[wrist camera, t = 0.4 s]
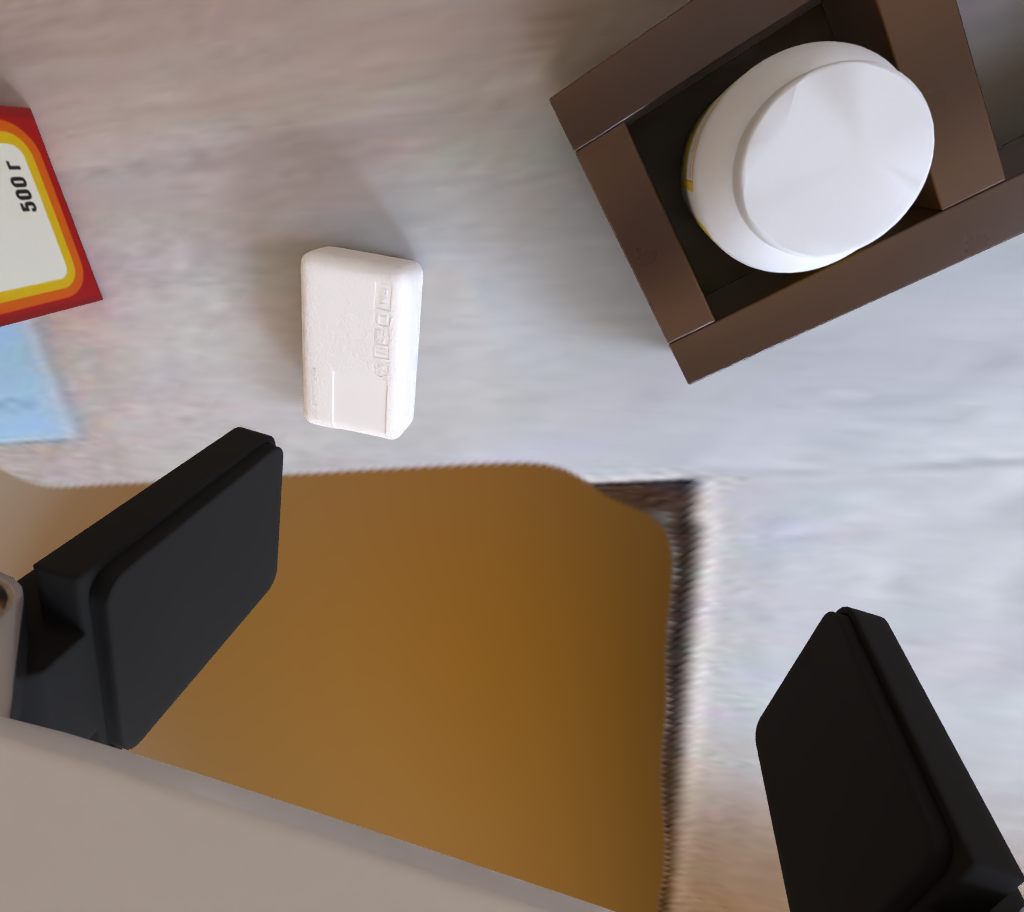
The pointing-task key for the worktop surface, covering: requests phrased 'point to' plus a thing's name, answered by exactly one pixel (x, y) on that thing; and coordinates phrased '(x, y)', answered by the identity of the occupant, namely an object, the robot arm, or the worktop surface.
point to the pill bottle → (807, 157)
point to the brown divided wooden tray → (840, 285)
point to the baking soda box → (36, 229)
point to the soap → (360, 340)
